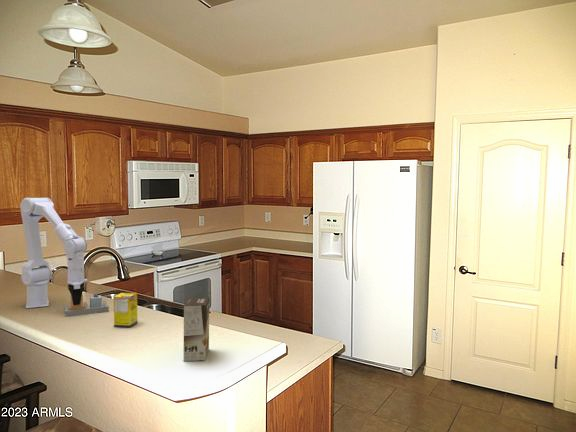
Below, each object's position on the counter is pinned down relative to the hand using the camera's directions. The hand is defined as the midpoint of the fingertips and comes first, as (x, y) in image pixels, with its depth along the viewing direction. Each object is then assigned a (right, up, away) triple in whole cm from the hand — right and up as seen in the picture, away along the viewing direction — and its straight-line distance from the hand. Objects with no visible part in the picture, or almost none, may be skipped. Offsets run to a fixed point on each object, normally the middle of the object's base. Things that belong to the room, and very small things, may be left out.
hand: (76, 303), depth 165 cm
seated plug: (+6, -3, +4) cm, 8 cm away
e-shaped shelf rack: (+3, -3, +2) cm, 5 cm away
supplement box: (+25, -5, -15) cm, 30 cm away
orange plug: (0, -2, 0) cm, 2 cm away
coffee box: (+56, -7, -41) cm, 70 cm away
